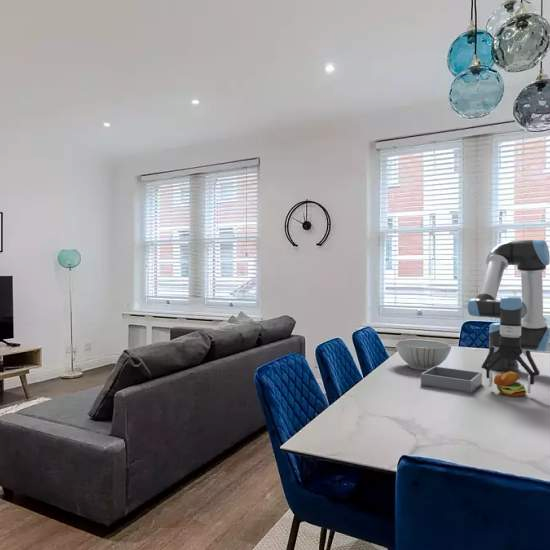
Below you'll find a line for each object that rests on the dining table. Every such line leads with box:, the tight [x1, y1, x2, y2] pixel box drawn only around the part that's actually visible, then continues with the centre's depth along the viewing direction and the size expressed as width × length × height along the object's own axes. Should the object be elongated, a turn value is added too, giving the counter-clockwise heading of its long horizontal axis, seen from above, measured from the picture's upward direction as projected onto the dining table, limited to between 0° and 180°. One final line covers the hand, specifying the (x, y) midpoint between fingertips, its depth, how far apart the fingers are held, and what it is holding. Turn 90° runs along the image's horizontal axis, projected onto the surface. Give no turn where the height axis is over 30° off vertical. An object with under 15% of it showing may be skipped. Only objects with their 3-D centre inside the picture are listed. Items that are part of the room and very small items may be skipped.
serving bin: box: [420, 366, 483, 395], centre depth 188 cm, size 19×20×5 cm
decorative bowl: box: [395, 339, 452, 371], centre depth 222 cm, size 27×27×12 cm
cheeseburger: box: [493, 371, 527, 398], centre depth 175 cm, size 10×11×10 cm
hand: (509, 389), depth 175 cm, fingers open, 13 cm apart
